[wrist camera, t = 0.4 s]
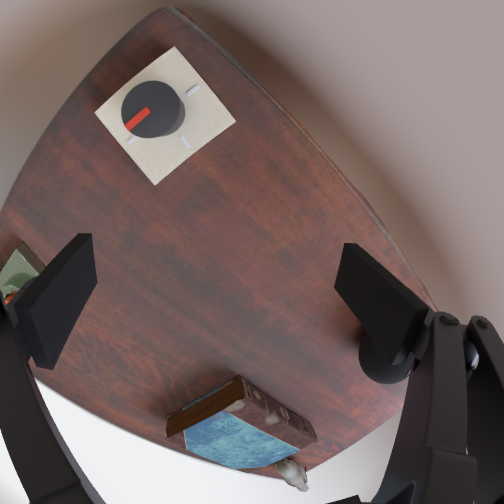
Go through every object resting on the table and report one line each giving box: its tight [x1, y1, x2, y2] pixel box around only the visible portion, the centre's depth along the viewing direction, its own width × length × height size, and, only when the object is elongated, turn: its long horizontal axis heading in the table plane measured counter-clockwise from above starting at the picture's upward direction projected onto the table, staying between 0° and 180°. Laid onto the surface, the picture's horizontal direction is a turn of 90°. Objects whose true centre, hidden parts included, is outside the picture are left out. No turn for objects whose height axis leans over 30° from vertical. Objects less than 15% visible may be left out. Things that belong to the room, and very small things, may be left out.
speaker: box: [359, 332, 415, 384], centre depth 40 cm, size 10×10×10 cm
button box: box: [0, 242, 45, 300], centre depth 31 cm, size 12×10×4 cm
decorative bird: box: [275, 458, 309, 492], centre depth 56 cm, size 5×16×8 cm, turn 26°
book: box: [165, 376, 317, 473], centre depth 46 cm, size 23×18×5 cm
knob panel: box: [95, 47, 236, 185], centre depth 26 cm, size 10×10×3 cm
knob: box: [121, 80, 185, 138], centre depth 22 cm, size 4×4×7 cm
